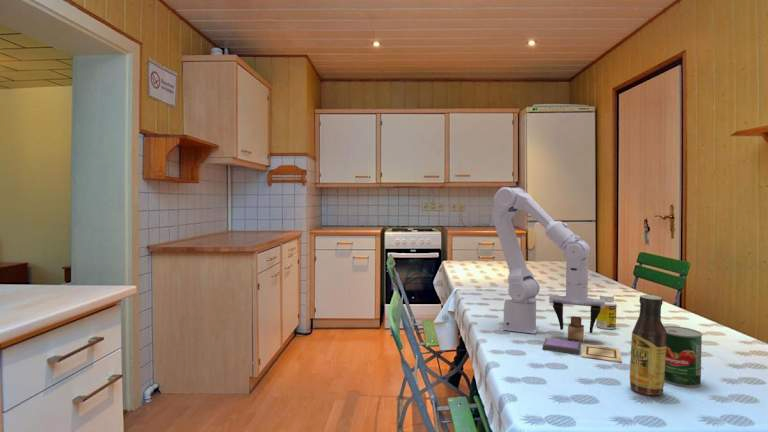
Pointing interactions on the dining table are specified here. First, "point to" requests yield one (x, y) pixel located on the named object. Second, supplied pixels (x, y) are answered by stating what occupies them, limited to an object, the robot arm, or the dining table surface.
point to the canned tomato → (683, 356)
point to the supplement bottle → (607, 313)
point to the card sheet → (601, 353)
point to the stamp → (576, 330)
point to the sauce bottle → (648, 348)
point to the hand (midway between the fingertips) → (576, 330)
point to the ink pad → (562, 346)
